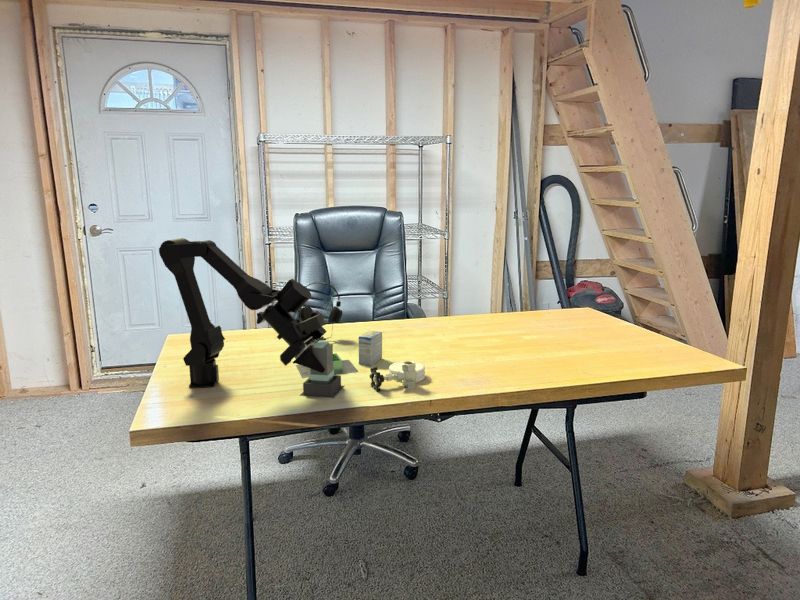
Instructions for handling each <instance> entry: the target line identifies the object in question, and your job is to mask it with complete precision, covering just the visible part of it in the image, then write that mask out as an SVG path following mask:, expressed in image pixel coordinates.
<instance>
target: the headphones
mask: <svg viewBox="0 0 800 600" xmlns="http://www.w3.org/2000/svg"><path fill="white" fill-rule="evenodd" d="M315 284H321V285H326V286H328V287H330V288H332V289H333V291H334V292H335V293H336V296H337V301H336V304H335V306H333V307H332V309H331V310H330V313H329V315H328V320H327V321H328V323H329V324H334V323H335V324H338V323H339V322H341V319H342V316H343V314H344V313H343V312H344V311H343V310H341V309H340V307H341V305H342V304H341V303H342V302H341V301H340V299H341V294H339V292H338V291H337V290H336V288H335V286H333V285H332V284H330V283H328V282H324V281H322V282H321V281H317V282H311V283H309V284H307V285H305V286H306V287H307V288H308V286H311V285H315ZM305 304H306V303H305ZM305 304H304V305H303V306H302V307H301V308H300V309H299V310H298V311H299V312H298V314H299V318H300V319H301V320H302V321H305V320H307V319H309V318H310V314H311V313H313V312H314V311H313V309H312V307H311V306H310V305H307V304H306V305H305ZM331 326H332V328H331V330H333V329H334V325H331ZM332 336H333V333H331V335H330V337H332ZM327 339H328V337H326V338H325V337H324V338H323V340H324V341H326V340H327ZM328 341H329V342H331V340H328ZM332 342H333V343H331V344H333V345H334V344H337V343H338V342H337V341H336V340H334V341H333V340H332Z"/></svg>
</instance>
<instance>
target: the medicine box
mask: <svg viewBox="0 0 800 600" xmlns="http://www.w3.org/2000/svg"><path fill="white" fill-rule="evenodd" d="M382 358H383V332H382V331H378V330H368V331H365V332H364V333H362V334H361V335H359V336H358V364H359V365H363V366H371V367H372V366H373V365H374V364H376V363H377V362H378V361H380V360H381V359H382Z"/></svg>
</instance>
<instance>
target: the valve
mask: <svg viewBox="0 0 800 600" xmlns="http://www.w3.org/2000/svg"><path fill="white" fill-rule="evenodd" d="M402 362H403V361H402ZM415 362H416V361H412V360H405V362H403V363H402V371H401V372H400V371H395V372H394V374H393V375H392V374H389V373H387V374H385V376H384V374H381V372H378V366H373V367H370V374H369V379H370V380H371V382H370V386H371V387H373V388H372V389H373V390H374V391H376V392H381V387H382V384H383V383H384V382H391V381H395V382H396V383H400V382H402V383H401V384H402V386H404V387H403V388H404V389H408V390H409V389H415V387H416V383H415V380H416V377H417V372H416V370H415V368H416V363H415ZM401 380H403V381H401Z"/></svg>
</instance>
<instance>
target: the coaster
mask: <svg viewBox="0 0 800 600" xmlns="http://www.w3.org/2000/svg"><path fill="white" fill-rule="evenodd" d="M405 361H406V360H405ZM405 361H404V360H403V361H397V362H394V363H391V364H390V365H389V367H388V374H392V375H393V374H394V372H395V371H400V372H401V371H402V363H403V362H405ZM414 362H415V363H416V368H415V370H416V372H417V377H416V380H415V384H416V383H420V382H422V381H424V380H425V378H426V375H425V374H426V366H425V365H423V364H422V363H420V362H417V361H414ZM402 381H403V380H401V382H402Z"/></svg>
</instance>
